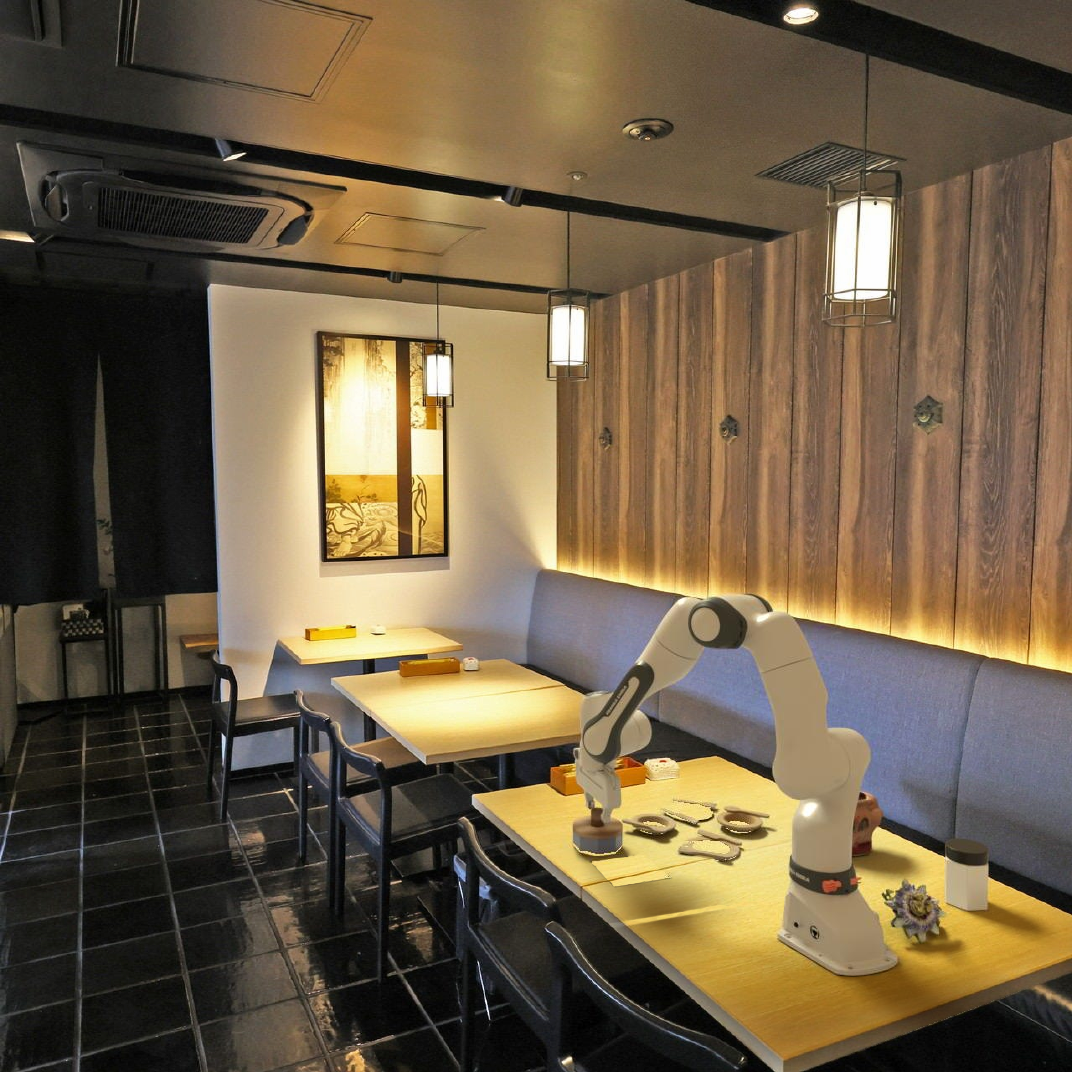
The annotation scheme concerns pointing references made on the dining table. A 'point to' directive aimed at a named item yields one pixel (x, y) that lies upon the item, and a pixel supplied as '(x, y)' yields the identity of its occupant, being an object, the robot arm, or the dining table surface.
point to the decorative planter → (865, 823)
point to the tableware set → (722, 818)
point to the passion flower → (914, 910)
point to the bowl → (598, 844)
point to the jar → (966, 874)
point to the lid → (597, 826)
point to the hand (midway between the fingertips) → (597, 814)
